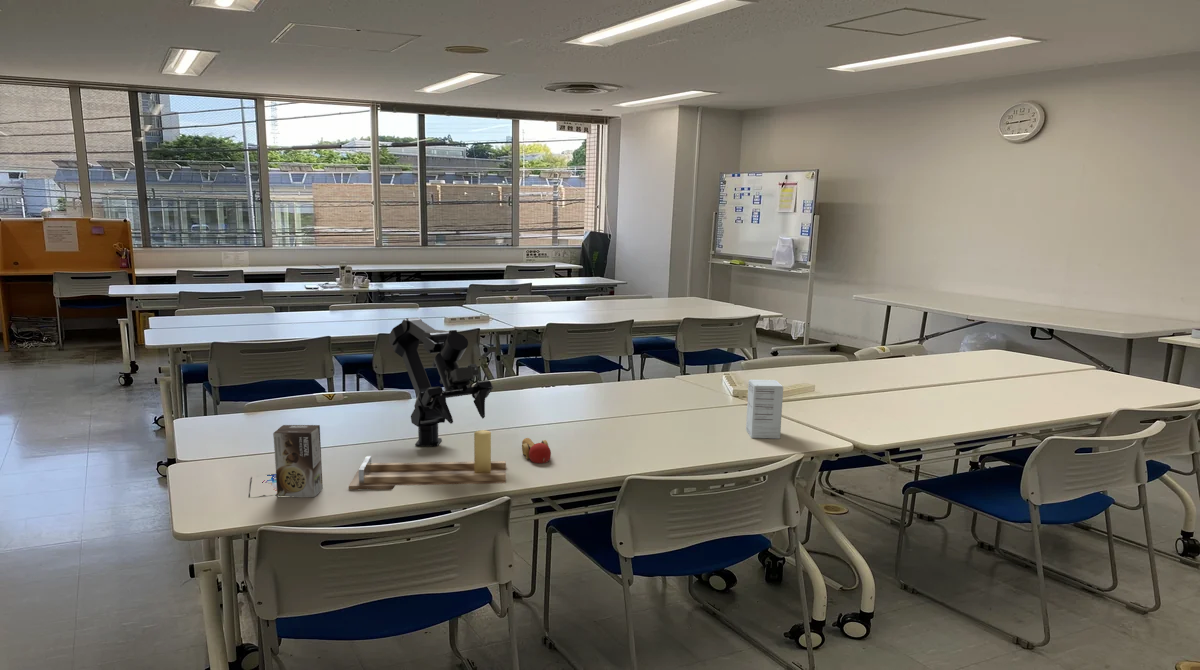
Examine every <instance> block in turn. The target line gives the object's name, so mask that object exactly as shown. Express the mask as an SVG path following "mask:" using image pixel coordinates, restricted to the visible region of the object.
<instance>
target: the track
mask: <svg viewBox="0 0 1200 670" xmlns="http://www.w3.org/2000/svg"><path fill="white" fill-rule="evenodd" d="M370 466H371V471H370V473H369V475H365V476H364V483H359V468H360V466H359V468H358V469H357V471H356V473H355V474H354V476H353V478H352V479H351V481H350V483H349V484H348V490H349V489H350V490H349V491H356V490H357V491H359V490H358V489H371V490H393V489H394V488H395V487H396V486H427V485H429V486H432V485H433V486H436V485H479V484H480V485H484V484H486V485H487V484H493V485H494V484H506V483H507V482H506V480H507V479H506V478H507V475H506V474H507V461H506V460H502V461H501V460H500V461H499V460H494V461H493V460H491V473H474V461H433V462H432V461H429V462H428V461H427V462H425V461H423V462H422V461H421V462H415V461H414V462H371V465H370ZM351 489H352V490H351ZM353 489H354V490H353ZM355 489H356V490H355Z"/></svg>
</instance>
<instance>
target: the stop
mask: <svg viewBox="0 0 1200 670" xmlns="http://www.w3.org/2000/svg"><path fill="white" fill-rule="evenodd" d="M371 463H372V455H366V456H365V458H364V459H363V461H362V463H361V465H360V466H359V467H360V468H358V469H359V483H364V476H365V475H369V473H370V471H371V466H370V465H371Z"/></svg>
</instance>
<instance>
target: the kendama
mask: <svg viewBox="0 0 1200 670" xmlns="http://www.w3.org/2000/svg"><path fill="white" fill-rule="evenodd" d="M521 452H522V455H525V459H526V460H528V459H530V461H531V463H534V464H546V463H548V462H549V460H551V457H552V451H551V449H550V446H549V443H548V441H547V440H546V439H544V440H541V442H536V443H535V442H533V441H532V439H531V438H529V437H525V438H524V439H523V440H522V441H521Z"/></svg>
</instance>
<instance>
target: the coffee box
mask: <svg viewBox="0 0 1200 670" xmlns="http://www.w3.org/2000/svg"><path fill="white" fill-rule="evenodd" d="M272 435H273V448H274V461H275V462H274V463H275V474H276V482H277V495H276V497H277V496H290V497H289V498H315V497H317V495H318V494H319V493H320V492H321V491H322V490H323V488H324V486H323V485H324V484H323V469H322V468H323V467H322V449H321V448H322V446H321V426H320V424H318V425H317V424H283V425H281V426H280V427H278V429H277V430H275V431H274V432H273V433H272ZM292 496H294V497H292Z"/></svg>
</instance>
